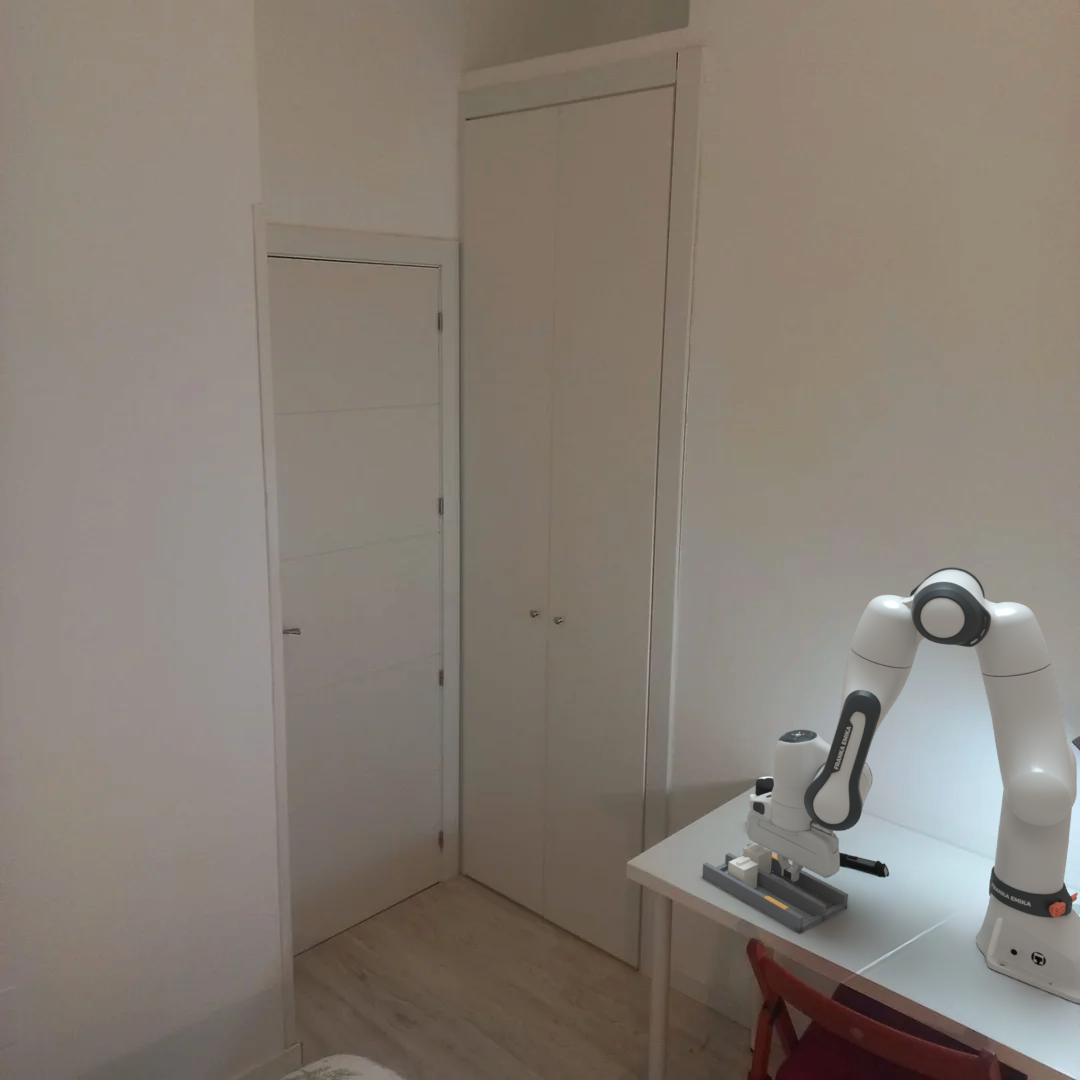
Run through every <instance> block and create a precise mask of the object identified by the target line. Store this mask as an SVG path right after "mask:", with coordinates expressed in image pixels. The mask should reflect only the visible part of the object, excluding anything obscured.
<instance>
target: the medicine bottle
mask: <svg viewBox="0 0 1080 1080" xmlns="http://www.w3.org/2000/svg"><path fill="white" fill-rule="evenodd" d="M773 787H774V780H773V776H762V777H761V776H760V777H759V778H757V779H756V781H755V793H751V794H749V800H748V801H749V802H750V800H751V799H753V798H755V797H757V796H760V795H762V794H765V793H769V792H772V790H773ZM749 802H748V803H749ZM750 810H751V809H750V806H749V805H748V812H749V811H750Z"/></svg>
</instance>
